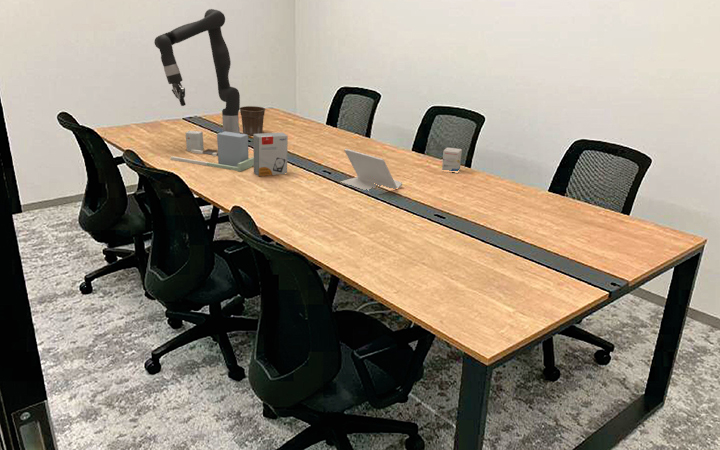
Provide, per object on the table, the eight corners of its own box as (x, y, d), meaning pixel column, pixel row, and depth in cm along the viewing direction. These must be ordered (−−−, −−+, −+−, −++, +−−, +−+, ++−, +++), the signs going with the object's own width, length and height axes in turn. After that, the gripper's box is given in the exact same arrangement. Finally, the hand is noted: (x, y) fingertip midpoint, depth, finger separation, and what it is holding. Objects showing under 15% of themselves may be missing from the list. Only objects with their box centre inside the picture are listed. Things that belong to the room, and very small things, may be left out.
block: (226, 161, 311) (224, 131, 305) (248, 164, 306) (247, 134, 300) (218, 164, 305) (217, 133, 299) (241, 167, 300) (240, 137, 294)
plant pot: (271, 133, 375) (270, 108, 369) (254, 137, 363) (253, 111, 357) (252, 129, 383) (251, 105, 377) (234, 133, 370) (233, 108, 365)
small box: (203, 149, 331) (202, 131, 327) (200, 152, 326) (199, 133, 322) (190, 148, 331) (189, 130, 328) (186, 151, 326) (185, 132, 322)
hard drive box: (258, 177, 287) (257, 137, 279) (253, 172, 293) (252, 133, 286) (287, 174, 293) (287, 135, 286) (282, 170, 300) (282, 131, 292)
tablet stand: (377, 196, 268) (379, 160, 262) (339, 183, 284) (340, 149, 277) (402, 188, 280) (405, 153, 274) (365, 176, 296) (366, 143, 290)
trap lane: (199, 149, 330) (198, 142, 329) (266, 160, 316) (266, 153, 314) (169, 160, 308) (169, 152, 306) (240, 171, 293) (239, 164, 292)
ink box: (460, 170, 314) (462, 148, 310) (457, 174, 307) (459, 152, 302) (444, 167, 317) (446, 146, 312) (441, 171, 309) (443, 150, 305)
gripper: (184, 71, 308) (194, 103, 314) (174, 72, 318) (184, 103, 324) (171, 74, 304) (182, 107, 310) (161, 76, 314) (172, 107, 320)
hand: (183, 105), depth 317 cm, fingers closed
